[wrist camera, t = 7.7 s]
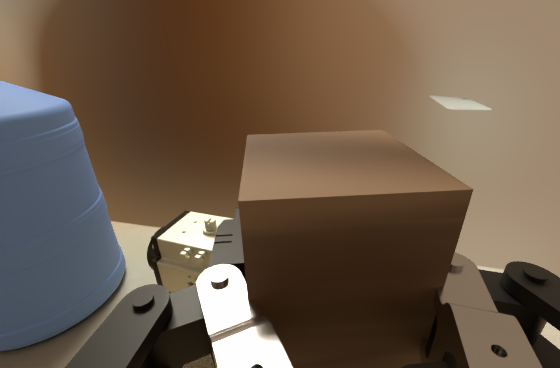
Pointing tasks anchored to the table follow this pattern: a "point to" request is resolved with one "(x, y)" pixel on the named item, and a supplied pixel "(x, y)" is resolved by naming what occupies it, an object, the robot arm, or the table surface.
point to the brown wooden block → (347, 244)
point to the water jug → (49, 222)
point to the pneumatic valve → (183, 249)
